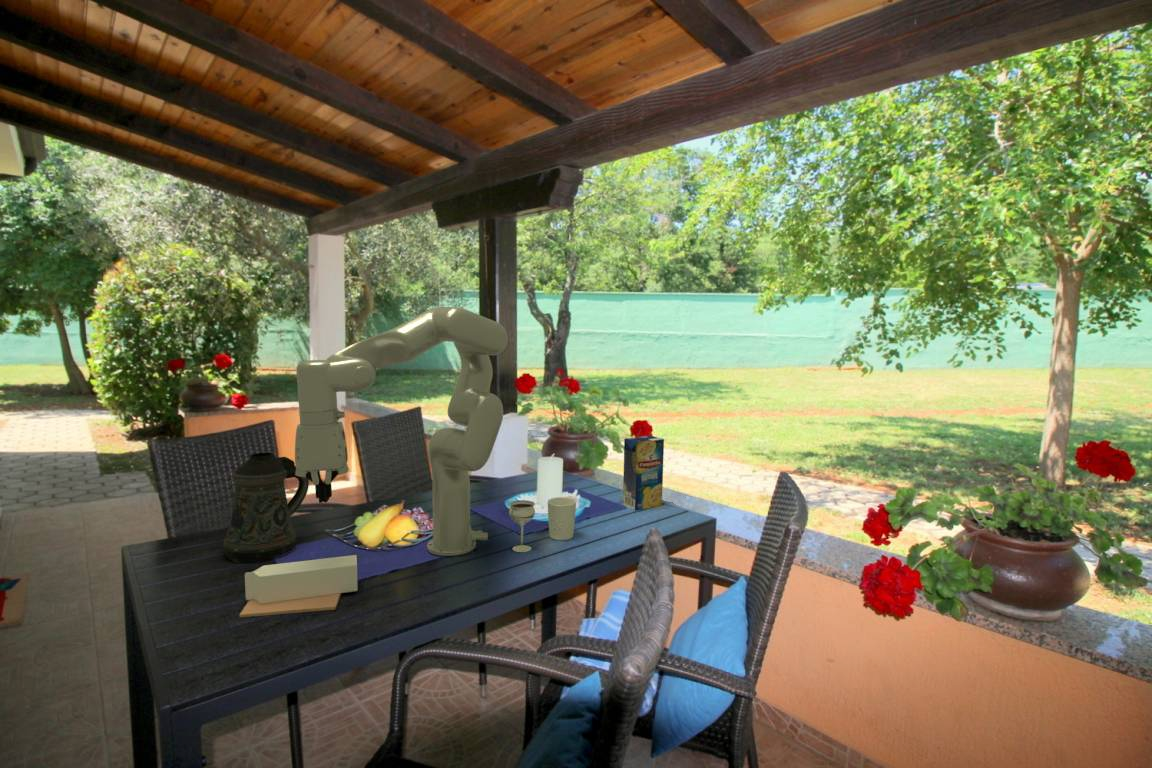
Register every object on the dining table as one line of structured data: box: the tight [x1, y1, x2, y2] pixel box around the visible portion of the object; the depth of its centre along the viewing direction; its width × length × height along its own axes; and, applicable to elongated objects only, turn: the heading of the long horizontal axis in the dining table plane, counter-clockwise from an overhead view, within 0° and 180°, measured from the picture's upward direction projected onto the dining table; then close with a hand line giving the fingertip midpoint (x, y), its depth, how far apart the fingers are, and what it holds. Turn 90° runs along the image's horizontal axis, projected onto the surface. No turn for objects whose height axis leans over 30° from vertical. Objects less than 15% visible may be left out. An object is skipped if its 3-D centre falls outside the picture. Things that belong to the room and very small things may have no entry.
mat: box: [238, 593, 342, 618], centre depth 132 cm, size 18×20×1 cm
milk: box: [244, 554, 359, 604], centre depth 130 cm, size 6×6×22 cm
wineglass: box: [508, 499, 536, 553], centre depth 158 cm, size 7×7×12 cm
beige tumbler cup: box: [547, 496, 577, 541], centre depth 167 cm, size 8×8×10 cm
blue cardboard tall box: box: [622, 435, 665, 511], centre depth 196 cm, size 7×11×22 cm, turn 122°
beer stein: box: [223, 452, 310, 563], centre depth 155 cm, size 16×19×25 cm
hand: (324, 500), depth 131 cm, fingers closed
